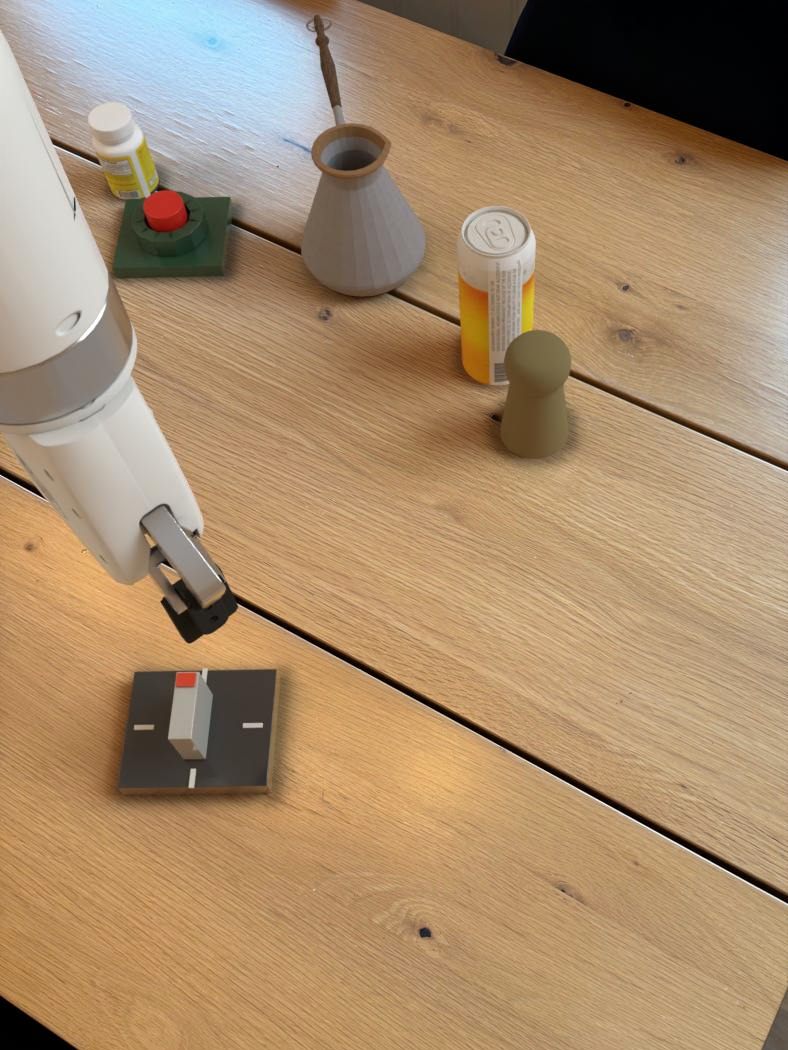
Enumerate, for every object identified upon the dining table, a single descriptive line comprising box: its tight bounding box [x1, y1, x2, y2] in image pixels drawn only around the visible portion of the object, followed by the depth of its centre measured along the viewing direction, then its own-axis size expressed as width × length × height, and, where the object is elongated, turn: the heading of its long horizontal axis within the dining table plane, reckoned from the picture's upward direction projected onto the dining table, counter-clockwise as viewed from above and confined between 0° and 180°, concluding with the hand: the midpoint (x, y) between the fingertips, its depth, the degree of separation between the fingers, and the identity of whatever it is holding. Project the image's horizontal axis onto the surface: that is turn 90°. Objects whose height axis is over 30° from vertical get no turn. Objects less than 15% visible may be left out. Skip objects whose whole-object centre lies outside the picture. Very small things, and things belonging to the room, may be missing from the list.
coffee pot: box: [300, 14, 427, 298], centre depth 94 cm, size 21×12×15 cm, turn 13°
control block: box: [111, 190, 234, 279], centre depth 98 cm, size 10×9×4 cm
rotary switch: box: [116, 667, 281, 796], centre depth 76 cm, size 10×9×3 cm
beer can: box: [456, 205, 537, 386], centre depth 86 cm, size 6×6×15 cm
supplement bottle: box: [87, 101, 160, 202], centre depth 100 cm, size 5×5×8 cm
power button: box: [143, 190, 188, 232], centre depth 96 cm, size 4×4×2 cm
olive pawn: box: [499, 329, 572, 460], centre depth 84 cm, size 6×6×11 cm
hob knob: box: [168, 672, 213, 760], centre depth 73 cm, size 5×2×4 cm, turn 1°
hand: (159, 563), depth 56 cm, fingers open, 9 cm apart
